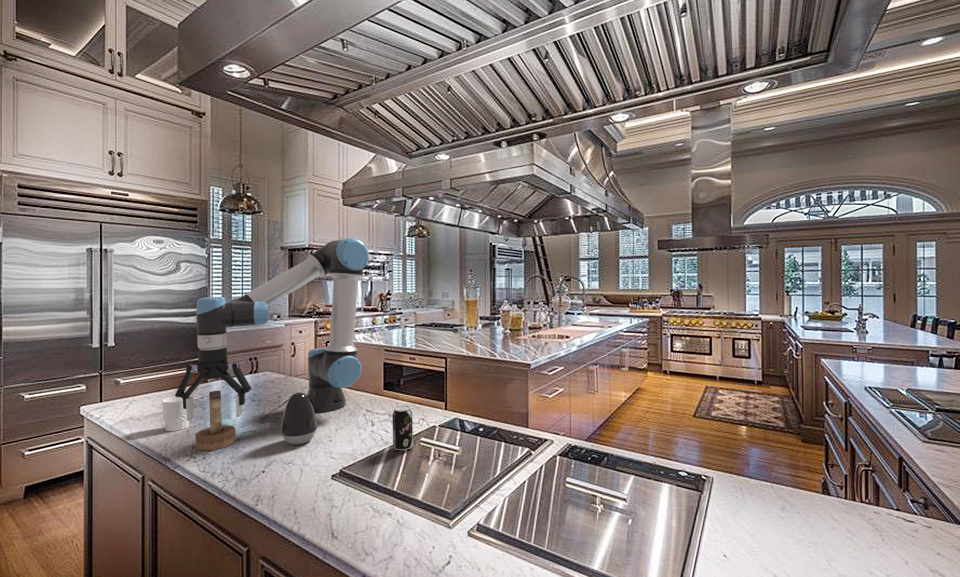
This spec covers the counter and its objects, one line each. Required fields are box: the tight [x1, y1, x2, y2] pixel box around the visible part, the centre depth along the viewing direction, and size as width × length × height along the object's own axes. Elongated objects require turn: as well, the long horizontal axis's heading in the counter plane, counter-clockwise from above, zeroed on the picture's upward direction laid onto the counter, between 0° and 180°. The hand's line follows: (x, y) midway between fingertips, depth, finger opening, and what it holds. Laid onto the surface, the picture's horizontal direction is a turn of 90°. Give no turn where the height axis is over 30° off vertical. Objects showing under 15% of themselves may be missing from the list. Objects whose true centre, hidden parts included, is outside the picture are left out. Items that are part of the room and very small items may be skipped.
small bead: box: [221, 418, 234, 426], centre depth 141 cm, size 6×6×4 cm
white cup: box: [161, 395, 191, 432], centre depth 146 cm, size 8×8×10 cm
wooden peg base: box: [194, 425, 236, 451], centre depth 131 cm, size 10×10×4 cm
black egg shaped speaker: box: [280, 391, 318, 446], centre depth 131 cm, size 10×10×15 cm
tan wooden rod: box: [208, 390, 222, 434], centre depth 131 cm, size 3×3×16 cm
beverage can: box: [391, 405, 414, 451], centre depth 125 cm, size 6×6×12 cm
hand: (215, 417), depth 130 cm, fingers open, 13 cm apart
